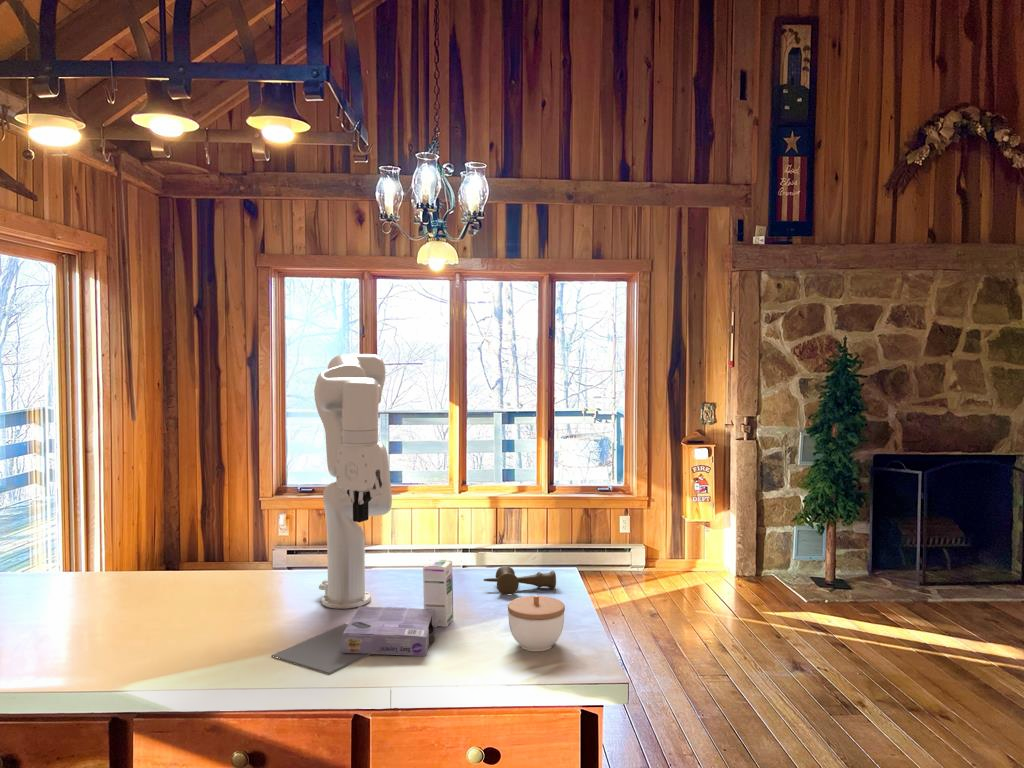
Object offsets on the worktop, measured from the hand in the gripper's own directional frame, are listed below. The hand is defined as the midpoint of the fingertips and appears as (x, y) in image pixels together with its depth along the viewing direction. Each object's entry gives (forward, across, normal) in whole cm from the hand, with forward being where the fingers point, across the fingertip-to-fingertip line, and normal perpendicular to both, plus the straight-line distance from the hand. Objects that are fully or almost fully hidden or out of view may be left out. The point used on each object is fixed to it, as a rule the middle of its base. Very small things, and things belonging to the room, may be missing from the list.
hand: (360, 520), depth 164 cm
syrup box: (+29, +5, +21) cm, 36 cm away
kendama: (+29, +8, +53) cm, 61 cm away
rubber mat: (+28, -4, -4) cm, 29 cm away
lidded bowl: (+28, +32, +21) cm, 48 cm away
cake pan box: (+26, +9, -2) cm, 27 cm away
